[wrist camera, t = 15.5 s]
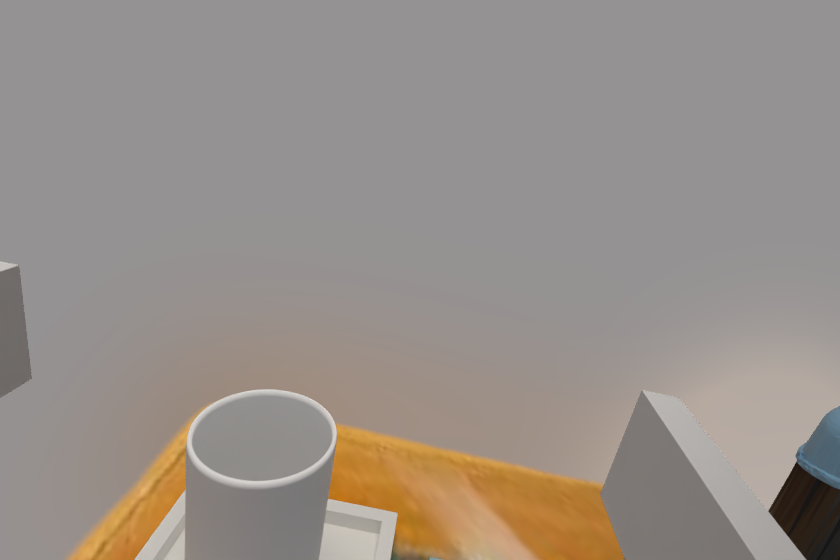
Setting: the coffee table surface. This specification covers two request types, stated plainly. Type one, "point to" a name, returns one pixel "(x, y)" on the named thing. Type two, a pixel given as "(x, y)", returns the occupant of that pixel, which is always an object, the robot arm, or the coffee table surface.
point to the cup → (258, 477)
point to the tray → (341, 542)
